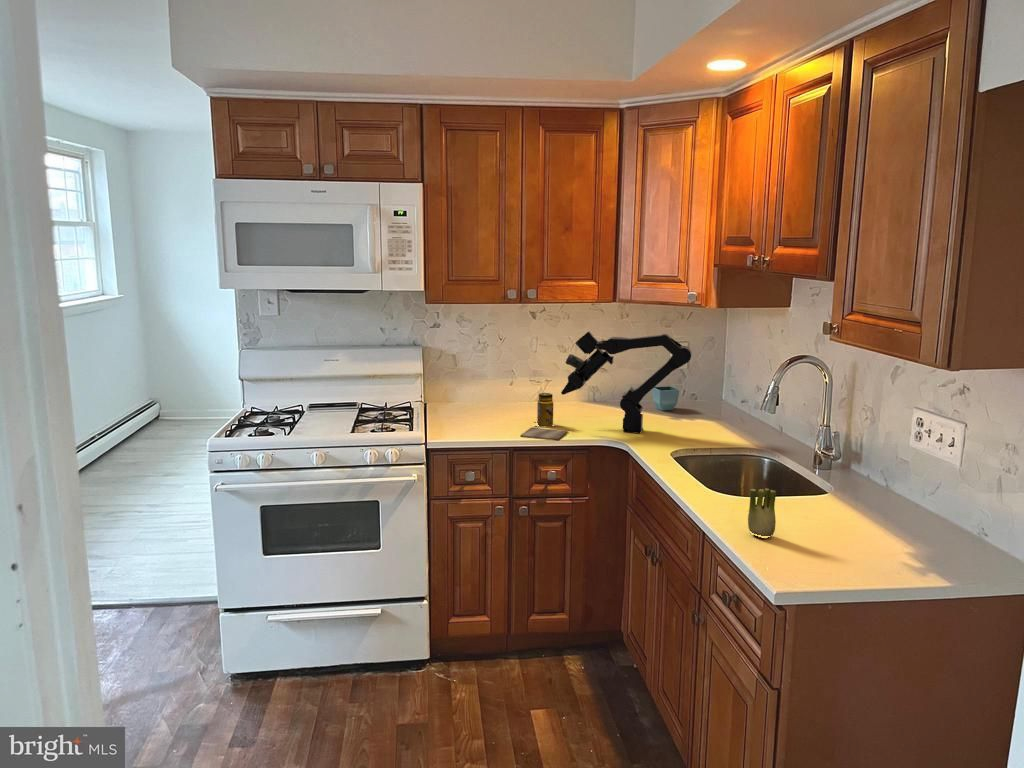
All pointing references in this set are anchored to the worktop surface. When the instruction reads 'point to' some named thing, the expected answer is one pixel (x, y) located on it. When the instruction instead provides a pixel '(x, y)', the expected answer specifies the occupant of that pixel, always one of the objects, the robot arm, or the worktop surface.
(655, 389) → the flower pot
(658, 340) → the robot arm
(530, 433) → the walnut coaster
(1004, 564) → the worktop surface
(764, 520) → the fennel bulb
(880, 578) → the worktop surface
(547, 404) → the condiment
